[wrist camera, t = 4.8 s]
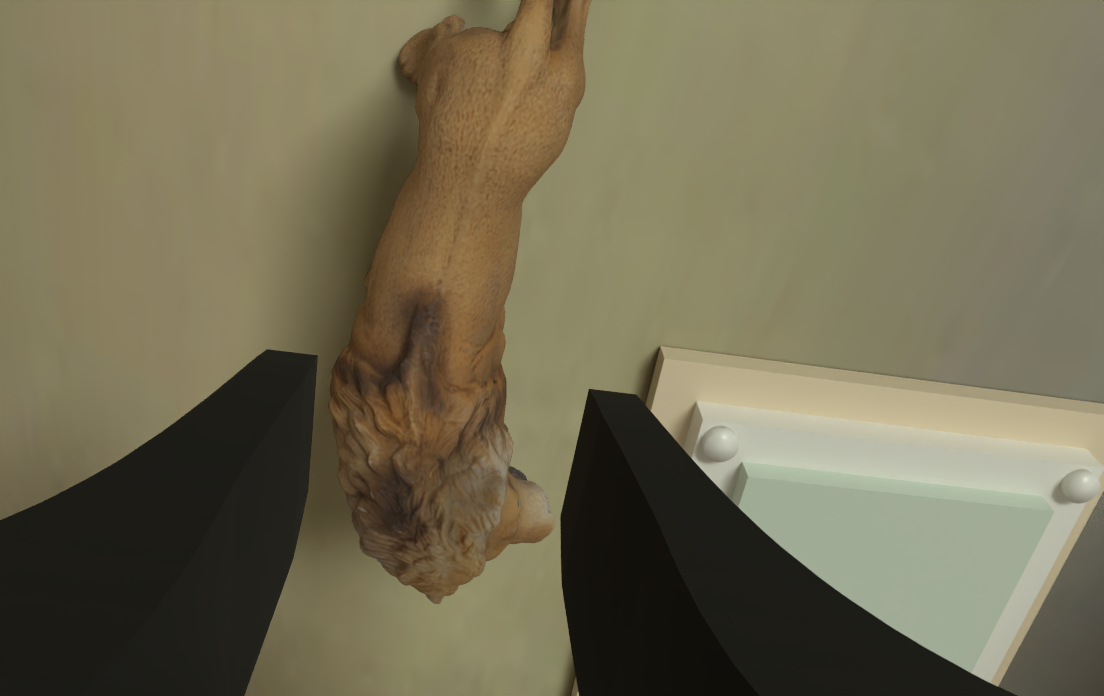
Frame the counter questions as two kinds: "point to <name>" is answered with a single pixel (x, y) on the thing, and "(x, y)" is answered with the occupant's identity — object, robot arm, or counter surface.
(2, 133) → the counter surface
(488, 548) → the lion figurine
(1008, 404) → the picture frame
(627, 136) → the counter surface
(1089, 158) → the counter surface
